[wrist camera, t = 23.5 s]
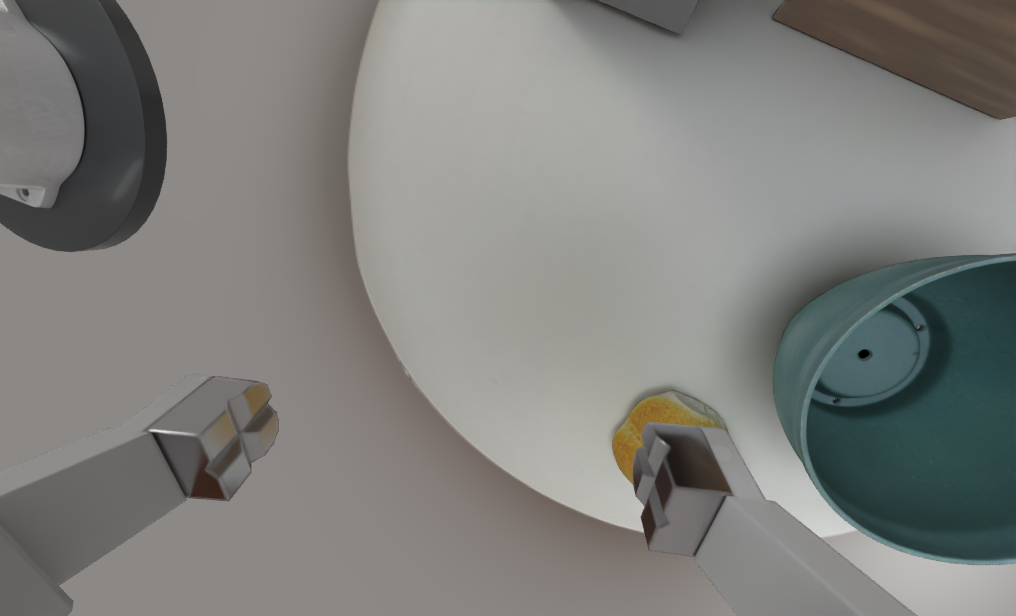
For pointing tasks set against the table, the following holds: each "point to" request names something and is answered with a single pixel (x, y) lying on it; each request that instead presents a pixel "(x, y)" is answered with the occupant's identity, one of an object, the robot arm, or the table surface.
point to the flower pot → (911, 404)
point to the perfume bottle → (659, 11)
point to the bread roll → (659, 410)
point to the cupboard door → (924, 42)
